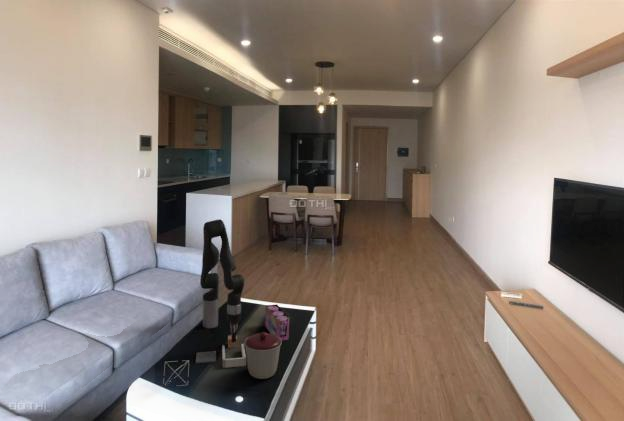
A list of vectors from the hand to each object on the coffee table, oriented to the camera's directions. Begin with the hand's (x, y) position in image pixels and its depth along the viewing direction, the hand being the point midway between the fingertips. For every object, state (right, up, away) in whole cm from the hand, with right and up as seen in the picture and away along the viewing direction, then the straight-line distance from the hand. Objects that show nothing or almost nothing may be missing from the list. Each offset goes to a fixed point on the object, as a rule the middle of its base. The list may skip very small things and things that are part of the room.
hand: (233, 341), depth 219 cm
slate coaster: (-13, -5, -9) cm, 17 cm away
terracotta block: (-2, -4, +5) cm, 7 cm away
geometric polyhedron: (-20, -9, -33) cm, 39 cm away
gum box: (+21, -3, +24) cm, 32 cm away
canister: (+19, -9, -22) cm, 30 cm away
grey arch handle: (+2, -6, -9) cm, 11 cm away
